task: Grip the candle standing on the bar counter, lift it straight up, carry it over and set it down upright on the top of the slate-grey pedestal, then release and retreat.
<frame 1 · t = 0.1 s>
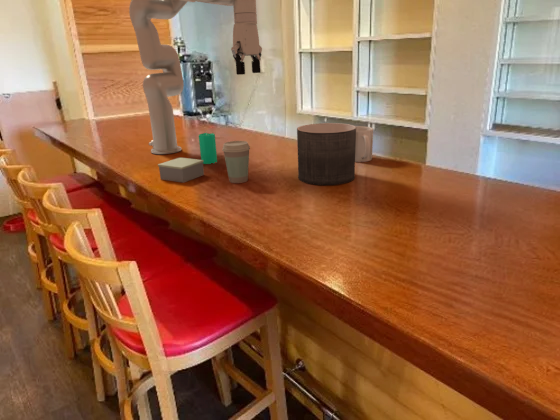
hand: (248, 73, 147), 31 cm above the table, fingers open, 9 cm apart
pedestal: (182, 176, 140), on the table
coffee cup: (238, 181, 134), on the table
planter: (326, 178, 133), on the table
candle: (209, 162, 159), on the table
mug: (358, 160, 154), on the table
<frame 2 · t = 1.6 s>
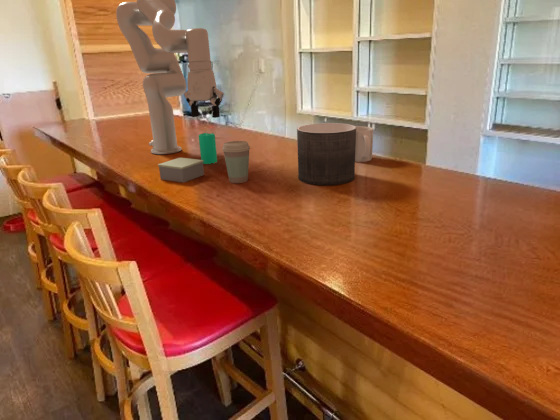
hand: (205, 116, 152), 17 cm above the table, fingers open, 9 cm apart
nothing on the table moved.
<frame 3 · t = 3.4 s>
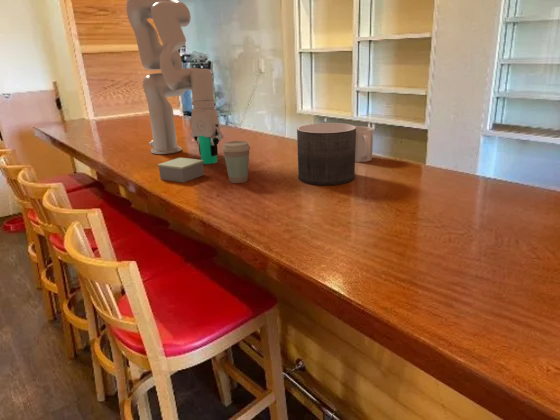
hand: (208, 154, 158), 3 cm above the table, fingers closed on candle, 4 cm apart
candle: (209, 162, 159), on the table, touching gripper
everything else where it was.
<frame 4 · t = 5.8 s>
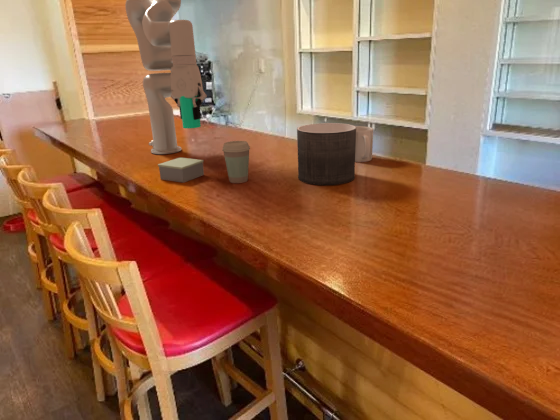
hand: (190, 118, 142), 18 cm above the table, fingers closed on candle, 4 cm apart
candle: (192, 127, 143), point 15 cm above the table, touching gripper
everything else where it was.
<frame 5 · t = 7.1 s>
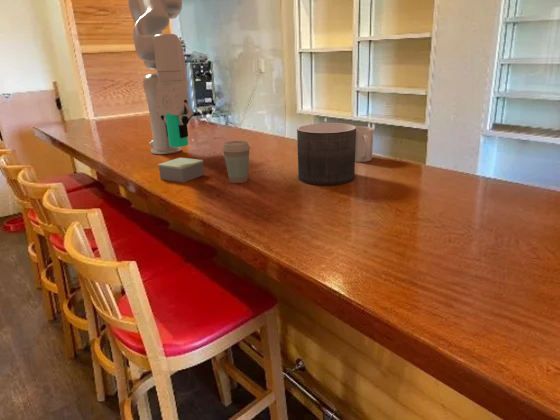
hand: (177, 136, 135), 14 cm above the table, fingers closed on candle, 4 cm apart
candle: (178, 145, 136), point 10 cm above the table, touching gripper
everything else where it was.
when the fingers open (9 cm above the table, at t = 8.2 s): candle drops 1 cm, resting on pedestal.
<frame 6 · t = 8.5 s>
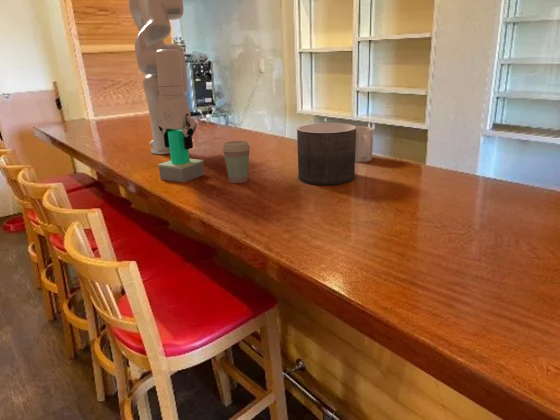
hand: (179, 147, 137), 10 cm above the table, fingers open, 8 cm apart
candle: (180, 162, 139), point 5 cm above the table, touching pedestal
everything else where it was.
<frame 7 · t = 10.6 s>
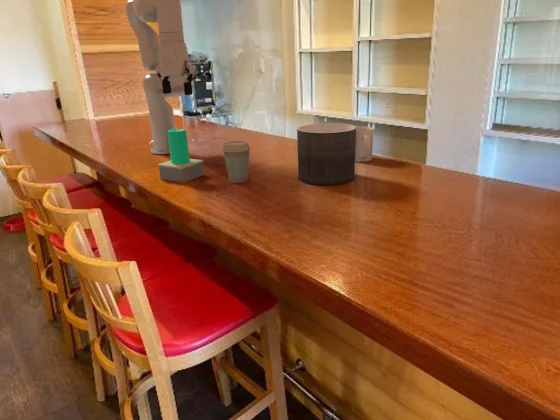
hand: (177, 94, 140), 26 cm above the table, fingers open, 9 cm apart
nothing on the table moved.
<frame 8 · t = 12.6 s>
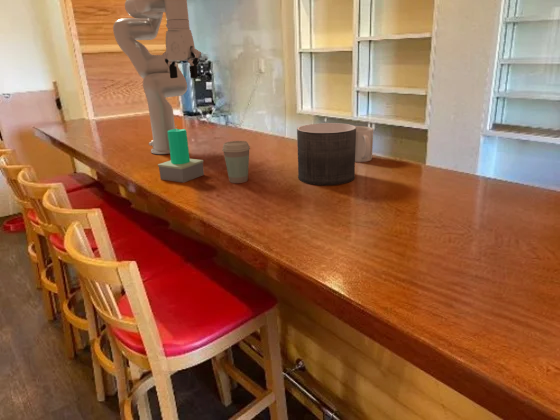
hand: (184, 77, 152), 30 cm above the table, fingers open, 9 cm apart
nothing on the table moved.
at the end: candle inside the target area on the pedestal (0.3 cm from its centre), point 4.8 cm above the pedestal's base; candle tilted 0°; the gripper is holding nothing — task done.
